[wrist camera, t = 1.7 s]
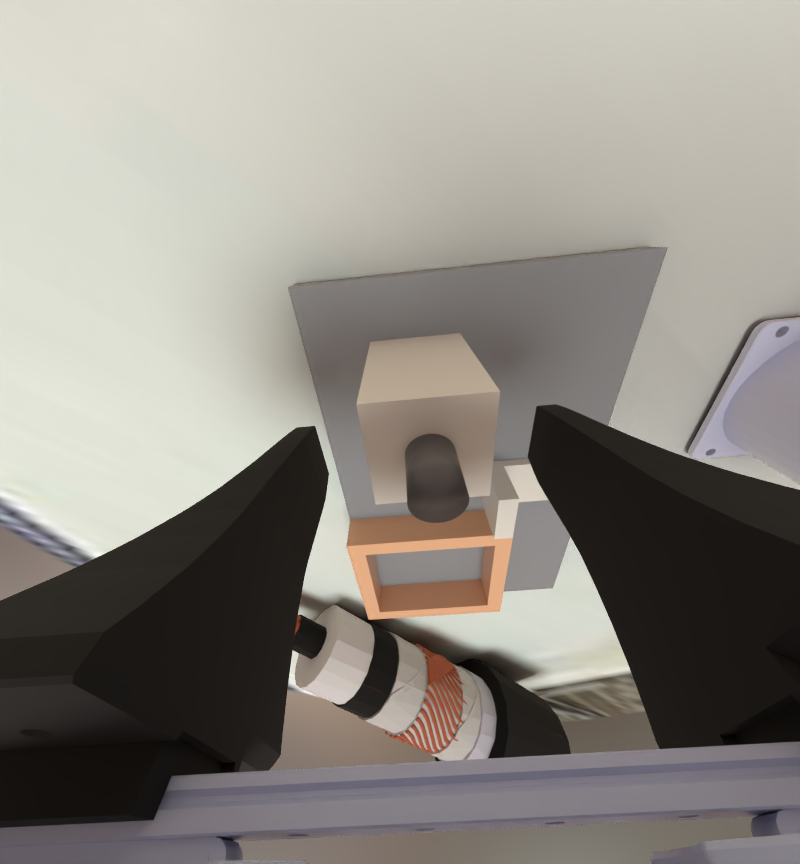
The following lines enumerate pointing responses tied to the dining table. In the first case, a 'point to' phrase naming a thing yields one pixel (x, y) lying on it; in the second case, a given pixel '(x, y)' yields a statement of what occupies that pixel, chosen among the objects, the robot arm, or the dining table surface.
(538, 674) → the dining table surface
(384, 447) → the connector
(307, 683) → the cable
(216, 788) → the robot arm
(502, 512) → the clip
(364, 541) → the frame
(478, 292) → the board
